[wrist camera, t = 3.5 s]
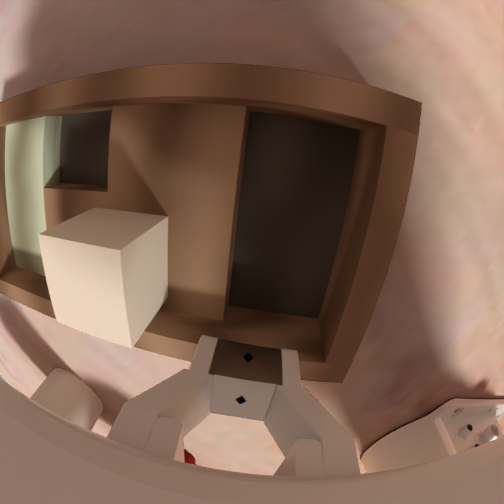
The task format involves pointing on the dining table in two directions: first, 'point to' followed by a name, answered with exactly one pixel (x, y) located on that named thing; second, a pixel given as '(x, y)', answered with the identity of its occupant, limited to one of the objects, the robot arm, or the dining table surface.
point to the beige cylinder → (69, 398)
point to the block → (107, 272)
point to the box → (221, 196)
